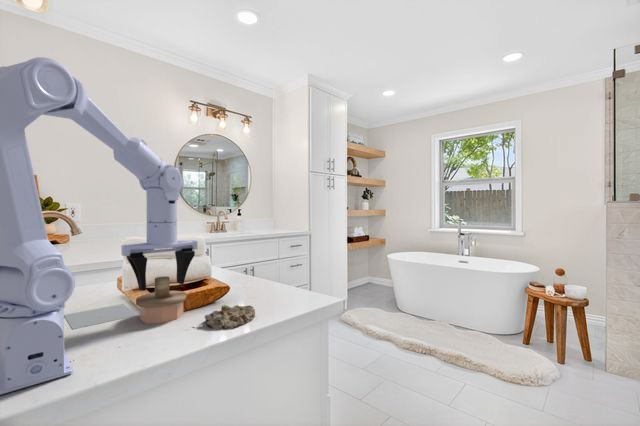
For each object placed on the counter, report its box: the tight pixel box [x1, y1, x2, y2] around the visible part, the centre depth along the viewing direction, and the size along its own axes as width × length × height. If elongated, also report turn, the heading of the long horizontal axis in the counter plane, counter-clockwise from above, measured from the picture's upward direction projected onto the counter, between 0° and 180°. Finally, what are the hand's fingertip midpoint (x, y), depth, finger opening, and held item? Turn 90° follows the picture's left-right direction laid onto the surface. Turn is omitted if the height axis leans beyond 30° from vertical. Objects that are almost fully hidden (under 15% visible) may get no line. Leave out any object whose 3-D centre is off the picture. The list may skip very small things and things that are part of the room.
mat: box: [64, 303, 138, 330], centre depth 68 cm, size 11×11×1 cm
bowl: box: [139, 301, 184, 324], centre depth 67 cm, size 8×8×4 cm
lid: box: [135, 276, 188, 308], centre depth 67 cm, size 10×10×5 cm
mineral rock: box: [204, 304, 256, 330], centre depth 66 cm, size 11×4×8 cm
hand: (162, 286), depth 67 cm, fingers open, 7 cm apart
